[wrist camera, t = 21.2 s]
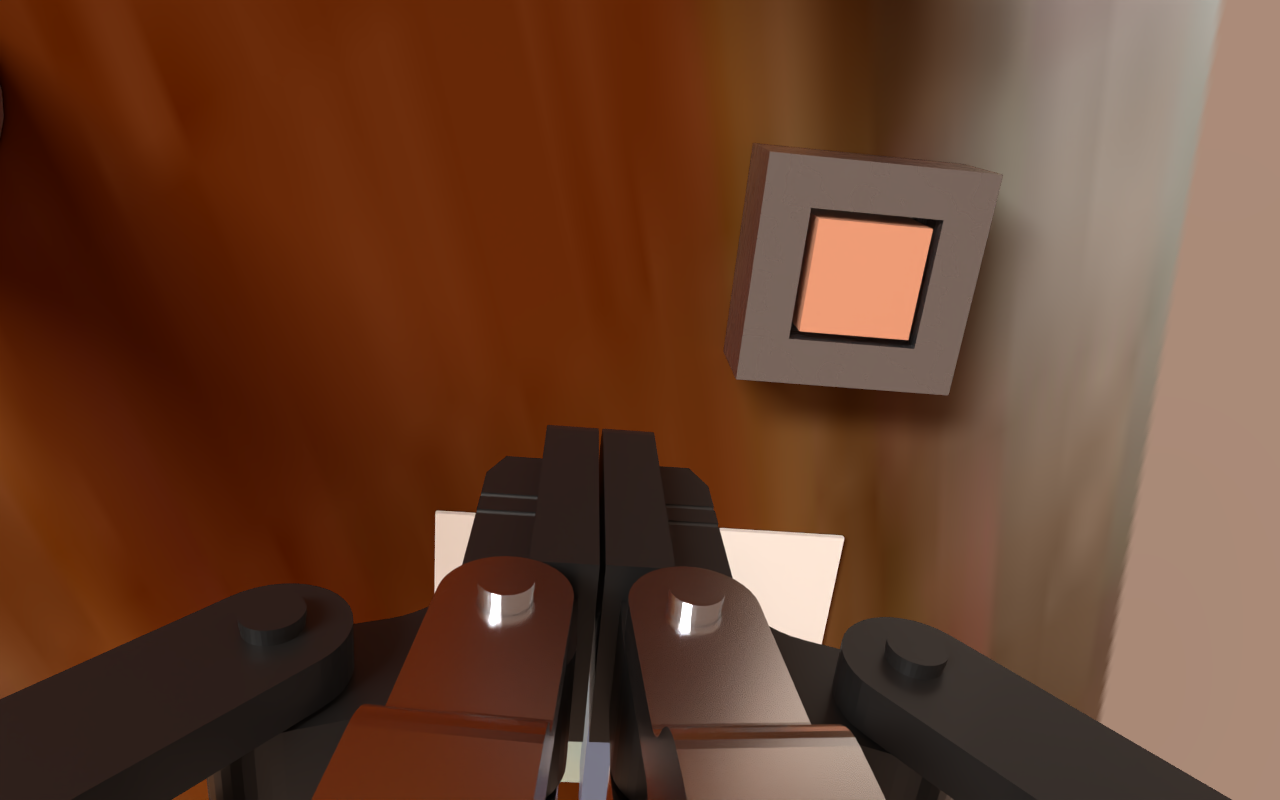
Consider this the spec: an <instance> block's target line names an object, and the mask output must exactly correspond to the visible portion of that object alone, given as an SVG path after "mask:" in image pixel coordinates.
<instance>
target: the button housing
mask: <svg viewBox="0 0 1280 800" xmlns="http://www.w3.org/2000/svg"><path fill="white" fill-rule="evenodd" d="M1002 178H1003V174H999V173H995V172H991V171H988V170H984V169H980V168H976V167H973V166H969V165H965V164H956V163H946V162H936V161H926V160H916V159H906V158H896V157H886V156H876V155H866V154H856V153H846V152H836V151H826V150H816V149H806V148H796V147H786V146H776V145H766V144H756V143H753V147H752V154H751V161H750V168H749V176H748V183H747V190H746V197H745V204H744V211H743V218H742V225H741V232H740V239H739V246H738V253H737V260H736V267H735V274H734V282H733V289H732V296H731V303H730V310H729V317H728V324H727V331H726V338H725V345H724V353H725V356H726V358H727V360H728V362H729V365H730V367H731V369H732V371H733V374H734V376H735V378H736V379H740V380H753V381H766V382H779V383H792V384H806V385H819V386H832V387H845V388H858V389H871V390H884V391H897V392H910V393H923V394H936V395H949V391H950V387H951V383H952V379H953V375H954V371H955V367H956V363H957V359H958V355H959V351H960V347H961V343H962V339H963V335H964V331H965V327H966V323H967V319H968V314H969V310H970V306H971V302H972V298H973V294H974V290H975V286H976V282H977V278H978V274H979V270H980V266H981V262H982V258H983V254H984V250H985V246H986V242H987V238H988V234H989V230H990V226H991V222H992V218H993V214H994V210H995V206H996V202H997V198H998V194H999V190H1000V186H1001V182H1002ZM811 208H815V209H826V210H836V211H847V212H858V213H868V214H879V215H890V216H900V217H909V218H911V219H913V220H915V221H918V222H920V223H922V224H924V225H926V226H928V227H930V228H932V229H933V232H932V236H931V241H930V245H929V250H928V254H927V258H926V263H925V267H924V272H923V276H922V281H921V285H920V290H919V294H918V299H917V303H916V308H915V312H914V316H913V321H912V325H911V330H910V334H909V339H908V340H899V339H887V338H875V337H863V336H850V335H838V334H826V333H814V332H802V331H799V330H798V329H797V328H796V326H795V325H794V324H793V322H792V317H793V311H794V306H795V300H796V294H797V288H798V282H799V276H800V270H801V264H802V259H803V253H804V247H805V241H806V235H807V229H808V223H809V217H810V212H811Z"/></svg>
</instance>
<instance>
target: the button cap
mask: <svg viewBox="0 0 1280 800" xmlns="http://www.w3.org/2000/svg"><path fill="white" fill-rule="evenodd" d="M932 232H933V229H932V228H930V227H928V226H926V225H924V224H922V223H920V222H918V221H915V220H913V219H911V218H909V217H900V216H890V215H879V214H868V213H858V212H847V211H836V210H826V209H815V208H811V212H810V217H809V223H808V229H807V235H806V241H805V247H804V253H803V259H802V264H801V270H800V276H799V282H798V288H797V294H796V300H795V306H794V311H793V317H792V322H793V324H794V325H795V326H796V328H797V329H798V330H799V331H802V332H814V333H826V334H838V335H850V336H863V337H875V338H887V339H899V340H908V339H909V334H910V330H911V325H912V321H913V316H914V312H915V308H916V303H917V299H918V294H919V290H920V285H921V281H922V276H923V272H924V267H925V263H926V258H927V254H928V250H929V245H930V241H931V236H932Z"/></svg>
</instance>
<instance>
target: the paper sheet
mask: <svg viewBox="0 0 1280 800" xmlns="http://www.w3.org/2000/svg"><path fill="white" fill-rule="evenodd" d="M475 514H476V513H470V512H454V511H438V510H436V513H435V591H436V589H437V587H438V585H439V583H440V582H441V580H442V579H443V578H444V577H445V576H446V575H447V574H448V573H449V572H451V571H452V570H454V569H455V568H457V567H459V566H461V565H462V563H463V559H464V555H465V552H466V548H467V544H468V540H469V537H470V533H471V529H472V525H473V522H474V518H475ZM719 529H720V533H721V536H722V540H723V544H724V547H725V551H726V555H727V559H728V562H729V566H730V570H731V574H732V577H733V579H735V580H736V581H738V582H739V583H741V584H743V585H744V586H745V587H746V588H747V589H749V590H750V591H751V592H752V593H753V595H754V596H755V597H756V598H757V600H758V602H759V604H760V606H761V608H762V611H763V613H764V615H765V618H766V620H767V622H768V625H769V626H770V627H772V628H774V629H776V630H778V631H780V632H782V633H785V634H787V635H790V636H793V637H796V638H799V639H802V640H806V641H810V642H814V643H817V644H821V645H822V640H823V636H824V631H825V626H826V622H827V617H828V612H829V608H830V603H831V598H832V594H833V589H834V584H835V580H836V575H837V570H838V566H839V561H840V556H841V552H842V547H843V542H844V537H843V535H827V534H810V533H794V532H778V531H762V530H746V529H729V528H719ZM581 746H582V742H568V751H567V762H566V769H565V773H564V776H563V778H562V780H561V782H579V777H580V756H581Z"/></svg>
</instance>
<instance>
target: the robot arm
mask: <svg viewBox="0 0 1280 800" xmlns="http://www.w3.org/2000/svg"><path fill="white" fill-rule="evenodd" d="M3 118H4V113H3V96H2V90H1V86H0V136H1V130H2V124H3ZM713 507H714V506H713V503H712V499H711V495H710V492H709V488H708V486H707V485H706V484H705V483H704V482H703V481H702V480H701V479H700V478H698V477H697V476H696V475H695V474H694V473H693V472H692V471H691V470H690V469H689V468H676V467H661V466H659V461H658V455H657V449H656V443H655V436H654V433H653V432H641V431H627V430H613V429H603V430H602V436H601V445H600V456H599V431H598V429H597V428H583V427H569V426H554V425H547V431H546V438H545V446H544V453H543V459H540V458H525V457H511V456H506V457H505V458H504V459H503V460H501V461H500V462H499V463H498V464H496V465H495V466H494V467H493V468H491V469H490V470H489V471H488V472H487V473H486V477H485V480H484V484H483V488H482V492H481V496H480V499H479V503H478V507H477V513H476V514H475V518H474V522H473V525H472V529H471V533H470V537H469V540H468V544H467V548H466V552H465V555H464V559H463V563H462V565H461V566H459V567H457V568H455V569H454V570H452V571H451V572H449V573H448V574H447V575H446V576H445V577H444V578H443V579H442V580H441V582H440V583H439V585H438V587H437V589H436V591H435V594H434V596H433V598H432V601H431V603H430V605H429V606H428V607H426V608H424V609H422V610H419V611H417V612H414V613H411V614H407V615H404V616H400V617H395V618H390V619H384V620H377V621H371V622H364V623H358V624H353V613H352V611H351V608H350V606H349V605H348V603H347V602H346V601H345V600H344V599H343V598H342V597H340V596H339V595H338V594H336V593H334V592H332V591H330V590H327V589H324V588H321V587H317V586H312V585H307V584H276V585H268V586H262V587H257V588H253V589H250V590H246V591H243V592H240V593H238V594H235V595H233V596H230V597H228V598H226V599H224V600H221V601H219V602H217V603H215V604H212V605H210V606H208V607H206V608H203V609H201V610H199V611H197V612H195V613H192V614H190V615H188V616H186V617H183V618H181V619H179V620H177V621H174V622H172V623H170V624H168V625H165V626H163V627H161V628H159V629H157V630H154V631H152V632H150V633H148V634H145V635H143V636H141V637H139V638H136V639H134V640H132V641H130V642H128V643H125V644H123V645H121V646H119V647H116V648H114V649H112V650H110V651H107V652H105V653H103V654H101V655H98V656H96V657H94V658H92V659H90V660H87V661H85V662H83V663H81V664H78V665H76V666H74V667H72V668H69V669H67V670H65V671H63V672H61V673H58V674H56V675H54V676H52V677H49V678H47V679H45V680H43V681H40V682H38V683H36V684H34V685H31V686H29V687H27V688H25V689H23V690H20V691H18V692H16V693H14V694H11V695H9V696H7V697H5V698H2V699H0V800H172V799H173V798H175V797H177V796H178V795H180V794H182V793H183V792H185V791H187V790H188V789H190V788H191V787H193V786H195V785H196V784H198V783H200V782H201V781H203V780H205V779H206V778H207V785H208V794H209V800H557V795H558V785H559V783H560V782H561V780H562V778H563V776H564V773H565V769H566V762H567V751H568V742H583V737H584V726H585V715H586V705H587V694H588V684H589V742H601V743H610V767H609V776H608V785H607V794H606V800H1231V799H1230V798H1228V797H1226V796H1224V795H1223V794H1221V793H1219V792H1218V791H1216V790H1214V789H1213V788H1211V787H1209V786H1207V785H1206V784H1204V783H1202V782H1201V781H1199V780H1197V779H1195V778H1194V777H1192V776H1190V775H1188V774H1187V773H1185V772H1183V771H1182V770H1180V769H1178V768H1176V767H1175V766H1173V765H1171V764H1169V763H1168V762H1166V761H1164V760H1163V759H1161V758H1159V757H1158V756H1155V755H1154V754H1152V753H1151V752H1149V751H1147V750H1146V749H1144V748H1142V747H1140V746H1139V745H1137V744H1135V743H1133V742H1132V741H1130V740H1128V739H1127V738H1125V737H1123V736H1122V735H1120V734H1118V733H1116V732H1115V731H1113V730H1111V729H1109V728H1108V727H1106V726H1104V725H1103V724H1101V723H1099V722H1098V721H1096V720H1094V719H1092V718H1091V717H1089V716H1087V715H1086V714H1084V713H1082V712H1080V711H1079V710H1077V709H1075V708H1074V707H1072V706H1070V705H1068V704H1067V703H1065V702H1063V701H1062V700H1060V699H1058V698H1056V697H1055V696H1053V695H1051V694H1049V693H1048V692H1046V691H1044V690H1043V689H1041V688H1039V687H1037V686H1036V685H1034V684H1032V683H1031V682H1029V681H1027V680H1025V679H1024V678H1022V677H1020V676H1019V675H1017V674H1015V673H1013V672H1012V671H1010V670H1008V669H1007V668H1005V667H1003V666H1001V665H1000V664H998V663H996V662H995V661H993V660H991V659H989V658H988V657H986V656H984V655H983V654H981V653H979V652H977V651H976V650H974V649H972V648H971V647H969V646H967V645H965V644H964V643H962V642H960V641H959V640H957V639H955V638H953V637H952V636H950V635H948V634H946V633H944V632H942V631H940V630H938V629H936V628H933V627H931V626H928V625H925V624H922V623H919V622H916V621H911V620H907V619H901V618H891V617H880V618H871V619H867V620H863V621H860V622H858V623H856V624H854V625H853V626H852V627H850V628H849V629H848V630H847V631H846V633H845V634H844V637H843V640H842V643H841V648H840V649H836V648H833V647H829V646H825V645H821V644H817V643H814V642H810V641H806V640H802V639H799V638H796V637H793V636H790V635H787V634H785V633H782V632H780V631H778V630H776V629H774V628H772V627H770V626H769V625H768V622H767V620H766V618H765V615H764V613H763V611H762V608H761V606H760V604H759V602H758V600H757V598H756V597H755V596H754V595H753V593H752V592H751V591H750V590H749V589H747V588H746V587H745V586H744V585H743V584H741V583H739V582H738V581H736V580H735V579H733V577H732V574H731V570H730V566H729V562H728V559H727V555H726V551H725V547H724V544H723V540H722V536H721V533H720V529H719V528H718V521H717V518H716V514H715V511H713ZM589 673H590V681H589Z"/></svg>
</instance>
